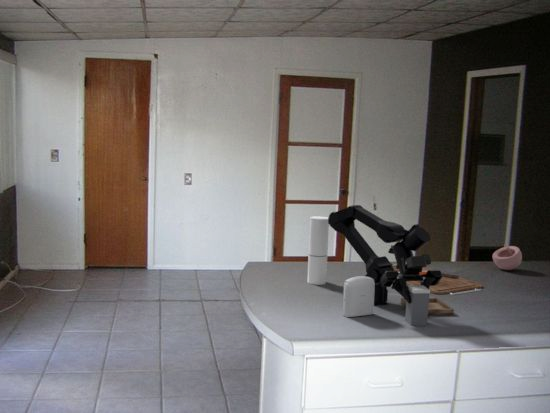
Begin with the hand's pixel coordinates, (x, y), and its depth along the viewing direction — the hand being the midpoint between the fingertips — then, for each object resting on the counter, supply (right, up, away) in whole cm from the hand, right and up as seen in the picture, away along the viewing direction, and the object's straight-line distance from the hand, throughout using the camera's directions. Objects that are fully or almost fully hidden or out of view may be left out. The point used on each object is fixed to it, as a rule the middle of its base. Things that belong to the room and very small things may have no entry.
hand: (418, 302), depth 168 cm
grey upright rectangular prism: (0, -6, +2) cm, 7 cm away
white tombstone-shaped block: (-17, -5, +7) cm, 20 cm away
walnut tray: (+7, -5, +16) cm, 18 cm away
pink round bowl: (+59, +1, +78) cm, 98 cm away
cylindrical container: (-28, 0, +45) cm, 53 cm away
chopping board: (+16, -1, +57) cm, 60 cm away
